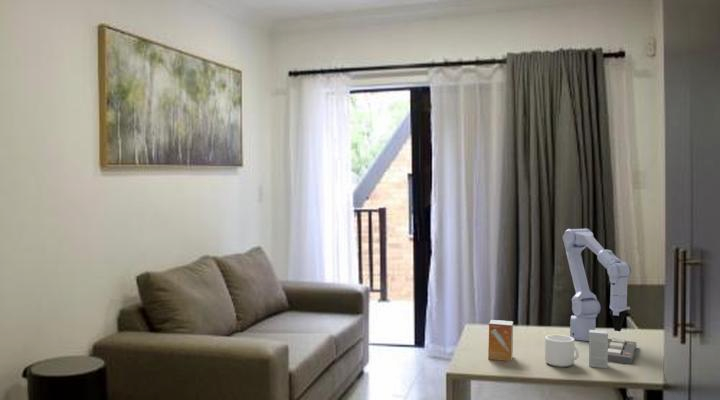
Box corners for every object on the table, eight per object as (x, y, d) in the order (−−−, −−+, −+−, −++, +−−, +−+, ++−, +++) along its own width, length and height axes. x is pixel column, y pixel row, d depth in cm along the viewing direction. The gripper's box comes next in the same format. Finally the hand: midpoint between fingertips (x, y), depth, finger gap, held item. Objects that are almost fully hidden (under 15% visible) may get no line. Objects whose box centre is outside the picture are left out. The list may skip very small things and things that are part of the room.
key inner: (611, 346, 240) (611, 340, 240) (612, 343, 244) (612, 337, 243) (623, 348, 238) (624, 341, 238) (625, 345, 242) (625, 339, 241)
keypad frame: (594, 359, 227) (594, 352, 227) (602, 343, 247) (602, 337, 247) (631, 364, 222) (631, 357, 221) (636, 347, 242) (636, 341, 242)
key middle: (609, 351, 234) (609, 344, 233) (610, 348, 237) (610, 342, 237) (622, 353, 231) (622, 346, 231) (623, 349, 235) (623, 343, 235)
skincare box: (607, 365, 221) (607, 330, 220) (607, 368, 216) (608, 333, 216) (588, 363, 222) (589, 329, 222) (588, 366, 218) (589, 332, 218)
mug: (586, 365, 220) (587, 339, 220) (570, 371, 213) (571, 344, 213) (555, 357, 229) (555, 332, 229) (539, 363, 222) (539, 337, 222)
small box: (488, 359, 226) (488, 323, 226) (490, 354, 232) (490, 319, 232) (511, 361, 224) (512, 325, 223) (512, 356, 230) (513, 320, 229)
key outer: (606, 358, 227) (607, 351, 227) (608, 354, 231) (608, 348, 231) (620, 359, 225) (620, 353, 225) (621, 356, 229) (621, 349, 229)
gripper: (628, 299, 229) (627, 336, 230) (632, 292, 242) (631, 327, 243) (607, 297, 233) (606, 334, 233) (612, 290, 246) (611, 325, 246)
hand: (617, 330), depth 238 cm, fingers closed
